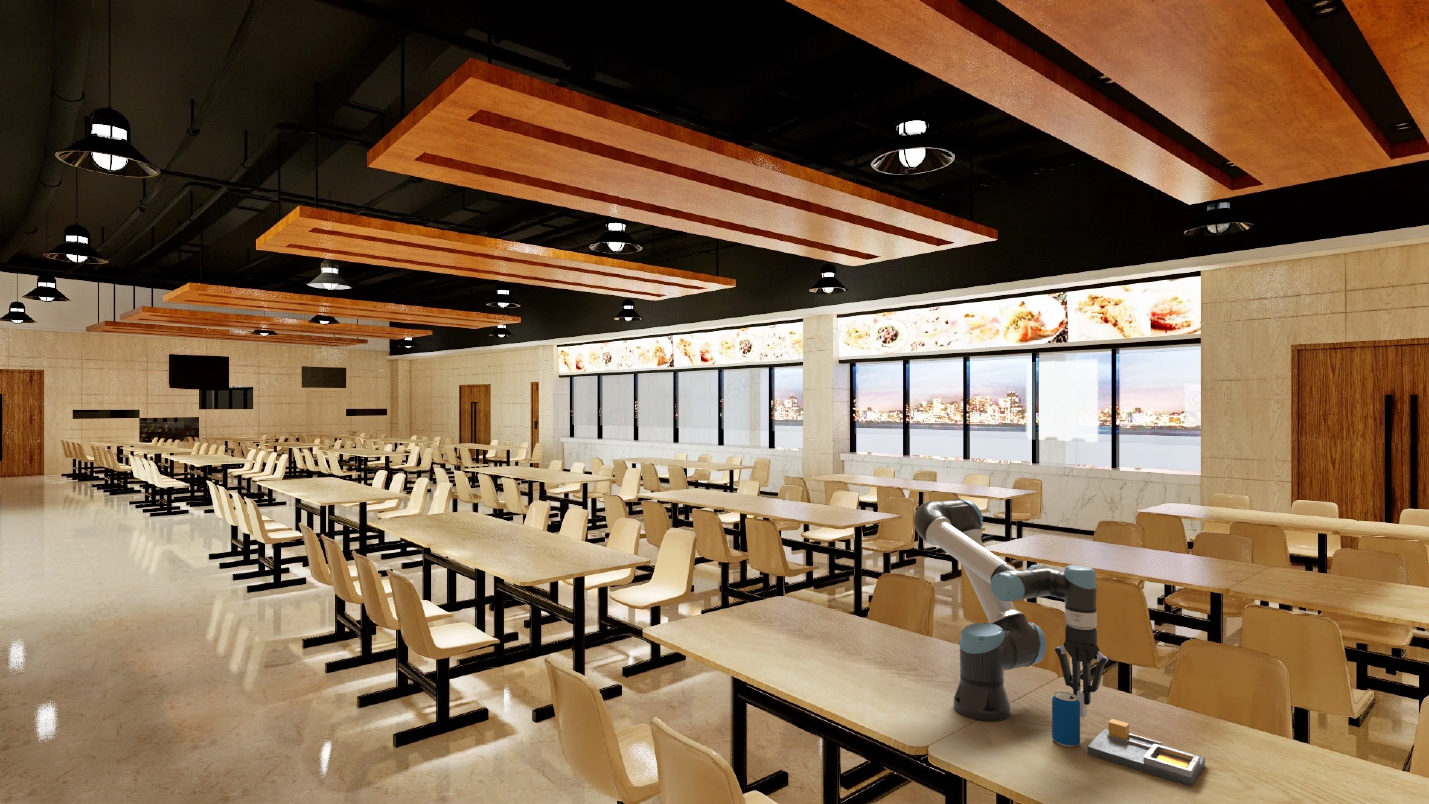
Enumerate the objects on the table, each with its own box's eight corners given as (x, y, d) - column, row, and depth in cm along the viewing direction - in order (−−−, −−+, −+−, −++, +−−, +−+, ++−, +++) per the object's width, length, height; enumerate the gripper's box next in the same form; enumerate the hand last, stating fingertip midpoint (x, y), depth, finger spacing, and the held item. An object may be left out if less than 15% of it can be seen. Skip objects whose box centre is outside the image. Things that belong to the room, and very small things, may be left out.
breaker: (1108, 734, 183) (1108, 722, 183) (1111, 731, 185) (1111, 718, 185) (1126, 739, 180) (1126, 726, 180) (1129, 736, 182) (1129, 723, 182)
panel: (1087, 754, 177) (1087, 740, 177) (1104, 736, 187) (1104, 722, 187) (1192, 787, 162) (1191, 772, 162) (1204, 765, 172) (1204, 751, 172)
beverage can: (1083, 749, 180) (1083, 701, 180) (1055, 747, 181) (1055, 699, 181) (1075, 738, 186) (1075, 691, 186) (1049, 735, 187) (1049, 689, 188)
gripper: (1050, 623, 191) (1051, 712, 191) (1103, 634, 182) (1104, 727, 182) (1060, 618, 196) (1061, 704, 196) (1112, 627, 187) (1113, 718, 187)
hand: (1082, 715), depth 189 cm, fingers closed
